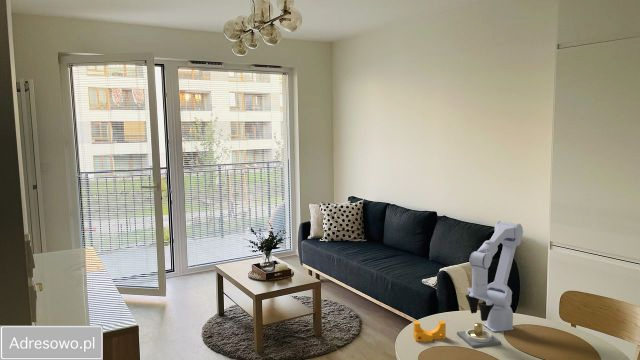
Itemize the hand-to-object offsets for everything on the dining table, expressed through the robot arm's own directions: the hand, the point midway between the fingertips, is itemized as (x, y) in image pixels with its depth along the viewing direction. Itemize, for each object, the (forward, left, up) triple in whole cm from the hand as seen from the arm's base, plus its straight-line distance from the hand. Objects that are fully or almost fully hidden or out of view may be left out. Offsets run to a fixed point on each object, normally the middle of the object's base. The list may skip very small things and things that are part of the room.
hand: (478, 316), depth 184 cm
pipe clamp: (+18, -5, -10) cm, 21 cm away
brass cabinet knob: (0, 0, -8) cm, 8 cm away
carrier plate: (0, 0, -9) cm, 9 cm away
